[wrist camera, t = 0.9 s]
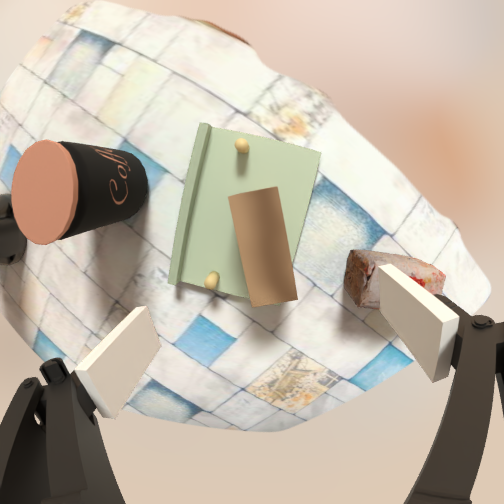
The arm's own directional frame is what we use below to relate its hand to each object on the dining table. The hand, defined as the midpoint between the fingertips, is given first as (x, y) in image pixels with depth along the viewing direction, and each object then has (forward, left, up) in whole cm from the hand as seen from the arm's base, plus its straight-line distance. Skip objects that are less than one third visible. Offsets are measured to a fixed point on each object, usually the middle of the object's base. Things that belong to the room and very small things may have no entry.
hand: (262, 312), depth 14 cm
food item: (+19, -2, -25) cm, 32 cm away
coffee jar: (-23, +2, -25) cm, 34 cm away
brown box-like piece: (0, 0, -23) cm, 23 cm away
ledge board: (-4, +2, -25) cm, 25 cm away
